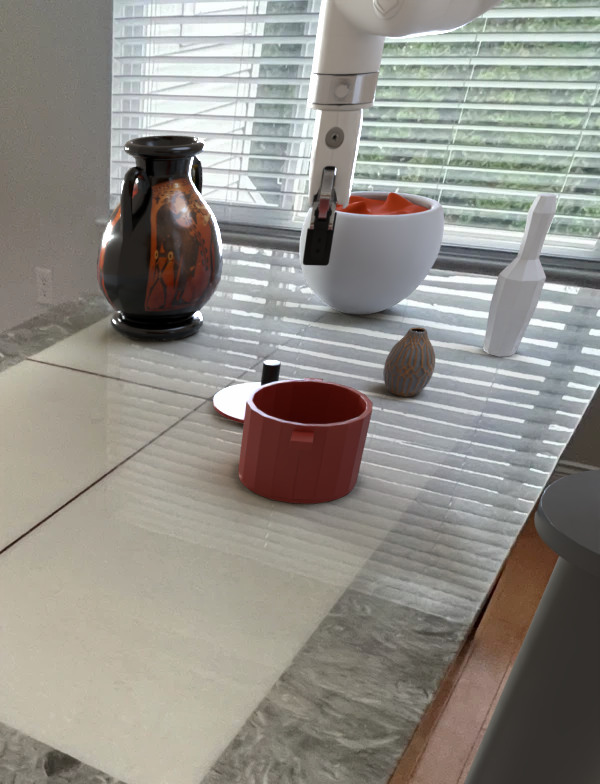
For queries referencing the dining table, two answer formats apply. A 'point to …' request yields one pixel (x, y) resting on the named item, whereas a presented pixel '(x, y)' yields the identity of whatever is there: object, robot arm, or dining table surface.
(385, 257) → the pot
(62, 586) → the dining table surface
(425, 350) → the vase
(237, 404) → the lid
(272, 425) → the enamel pot
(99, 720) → the dining table surface
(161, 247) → the amphora vase
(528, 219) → the low poly bottle
